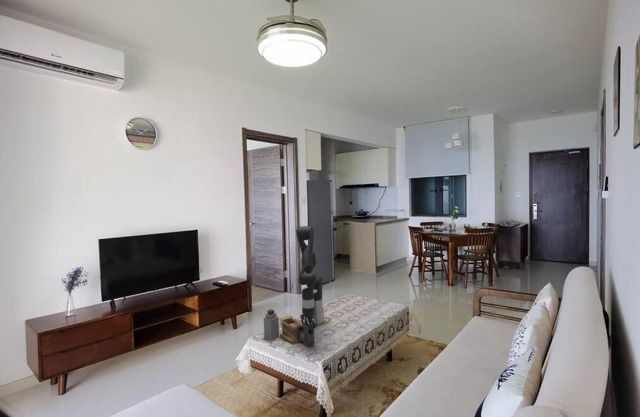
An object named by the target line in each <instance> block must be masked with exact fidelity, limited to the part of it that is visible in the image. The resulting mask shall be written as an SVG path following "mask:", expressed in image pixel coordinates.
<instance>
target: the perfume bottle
mask: <svg viewBox="0 0 640 417" xmlns="http://www.w3.org/2000/svg"><path fill="white" fill-rule="evenodd" d="M279 334H280V317H279V316H278V313H277V312H275V310H274V309H271V308H270V309H268V310H267V311H266V313H264V317H263V336H264V337H263V339H265V340H268V341H270V342H272V341H274V340H277V339H279V338H280V335H279Z"/></svg>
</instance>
